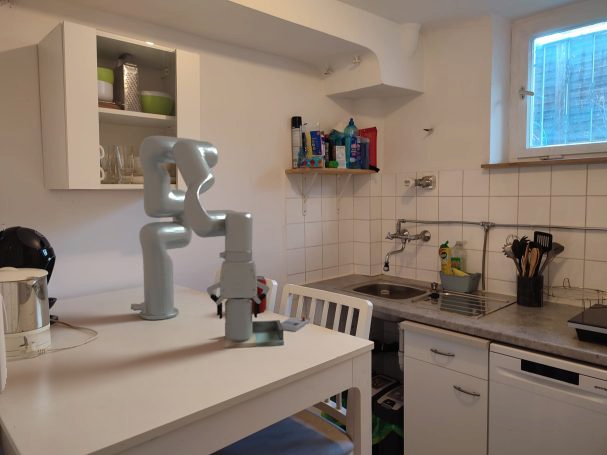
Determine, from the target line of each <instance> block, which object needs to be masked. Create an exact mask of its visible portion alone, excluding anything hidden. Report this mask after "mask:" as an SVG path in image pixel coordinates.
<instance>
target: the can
mask: <svg viewBox="0 0 607 455" xmlns="http://www.w3.org/2000/svg"><path fill="white" fill-rule="evenodd" d="M224 314H225V315H224V316H225V318H224V319H225V320H224V333H225V334H224V336H225V335H226V337H227V338H228V339H229V340H231V341H245V340H248V339H249V338H250V337H251V336H252V321H253V313H252V301H251V300H250V299H249V298H242V299H226V301H225V302H224Z"/></svg>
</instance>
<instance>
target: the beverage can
mask: <svg viewBox="0 0 607 455" xmlns="http://www.w3.org/2000/svg"><path fill="white" fill-rule="evenodd" d="M257 281H258V282H260V283H263V284H265V285H267V280H266V279H265V276H261V275H257ZM262 292H263V289H261V288H259V287H257V295H258V296H259V295H260V294H261V293H262ZM249 299H250V300H251V301H252V314H254V302H255V300H254V299H253V298H249ZM266 310H267V296H266V297H265V298H264V299H263V300H262V301H261V303H260V304H259V314H261V313H263V312H265V311H266Z"/></svg>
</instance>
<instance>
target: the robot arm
mask: <svg viewBox="0 0 607 455" xmlns="http://www.w3.org/2000/svg"><path fill="white" fill-rule="evenodd" d="M138 156H139V157H138V158H139V162H140V168H141V171H142V177H143V178H142V180H143V209H144V213H145V215H146V216H147V217H149V218H152V219H162V218H163V219H164V218H165V219H166V218H167V219H168V218H172V220H169V221H153V222H149V223H146V224H144V225H143V226H142V227H141V228H140V230H139V236H138V238H139V243H140V247H141V252H142V264H143V265H142V266H143V268H142V269H143V299H144V300H143V302H141V303H131V304H130V309H131V310H133V311H140V312H139V317H140V318H141V319H143V320H149V321H150V320H152V321H155V320H158V321H159V320H166V319H171V318H174V317H176V316H178V315H179V312H180V311H179V309H178V308H176V307H175V306H174V305H175V303H174V301H175V300H174V295H175V294H174V292H175V291H174V262H173V259H172V258H171V256H170V255H169V253H168V252H167V251H168V250H174V249H182V248H186V247H187V246H189V244H190V243H191V240H192V235H193V233H194V234H195V235H196V236H197V237H200V238H205V239H206V238H214V237H215V238H216V237H217V238H218V237H224V251H222V252H219V259H220V258H221V259H224V260H223V261H222V262H221V266H220V275H219V276H220V277H219V281H218V282H215V283H214V284H211V285H210V286H208V287H207V288H206V292H207V294H208V296H209V298H210V299H211V300H212V301H213V302H214V303H215V304H216V315H217V316H219V320H221V319H223V301H224V300H225V299H226V300H228V299H242V298H253V299H254V300H255V302H254V313H253V318H255V319H256V318H258V315H259V314H260V313H259V304H260V303H261V301H262V300H263V299H264V298H265V297H266V298H267V296H268V294H269V291H270V289H271V288H270V287H269V286H268V285H267V284H266V285H265V284H263V283H260V282H258V281H257V276H258V274H257V266H256V262H255V261H254V260H253V215H252V214H251V213H249V212H246V211H235V210H232V209H214V210H213V209H211V210H205V208H204V206H203V204H202V202H201V199H200V197H199V196H200V195H202V194H204V193H206V192H207V191H209V190H210V189H211V188H212V187H213V186H214V185H215V175H214V174H213V172H212V170H211V169H213V168H214V167H215V166H216V165H218V161H219V152H218V150H217V147H216V146H215V145H213V143H212V142H209V141H204V140H197V139H191V138H185V137H176V136H167V135H150V136H147V137H145V138H144V139H143V140H142V142H141V143H140V146H139V151H138ZM164 164H175V165H176V168H177V169H178V172H179V173H180V175H181V177H182V179H183V182H184V183H185V185H186V186H185V187H186V188H187V190H186V191H185V190H182V189H172V188H171V176H170V172H169V171H168V169H167V167H166V166H165V165H164ZM257 287H259V288H261V289H263V292H262V293H261V294H260V295H259V296H258V295H257ZM217 289H219V296H217V295H216V294H215V293H214V291H215V290H217Z"/></svg>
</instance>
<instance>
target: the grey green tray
mask: <svg viewBox="0 0 607 455" xmlns="http://www.w3.org/2000/svg"><path fill="white" fill-rule="evenodd" d="M281 323H282V322H281V320H280V319H275V320H274V319H273V320H256V321H255V320H252V336H251V337H250V338H249V339H248V340H245V341H231V340H229V339H228V338H227V337H226V335H225V334H224V348H225V349H229V348H230V349H232V348H249V347H251V348H252V347H265V346H268V347H269V346H284V345H285V340H284V330H283V327H282V325H281Z"/></svg>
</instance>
